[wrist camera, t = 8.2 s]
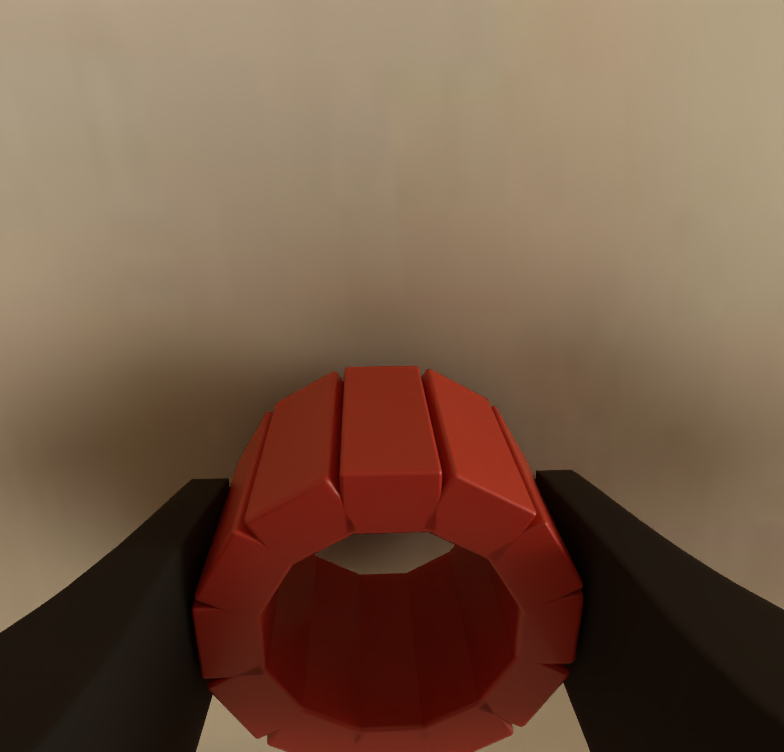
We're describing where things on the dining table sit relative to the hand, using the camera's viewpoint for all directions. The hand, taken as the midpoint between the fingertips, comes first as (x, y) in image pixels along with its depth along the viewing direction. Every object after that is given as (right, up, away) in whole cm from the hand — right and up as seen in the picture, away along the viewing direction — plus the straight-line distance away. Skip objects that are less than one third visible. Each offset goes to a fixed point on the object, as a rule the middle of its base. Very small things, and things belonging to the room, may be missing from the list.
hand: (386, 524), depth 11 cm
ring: (0, 0, +1) cm, 1 cm away
